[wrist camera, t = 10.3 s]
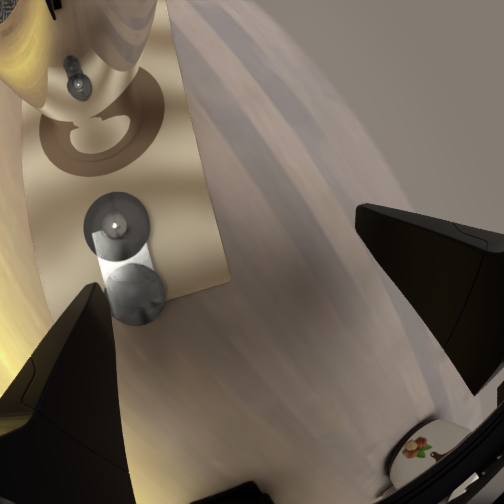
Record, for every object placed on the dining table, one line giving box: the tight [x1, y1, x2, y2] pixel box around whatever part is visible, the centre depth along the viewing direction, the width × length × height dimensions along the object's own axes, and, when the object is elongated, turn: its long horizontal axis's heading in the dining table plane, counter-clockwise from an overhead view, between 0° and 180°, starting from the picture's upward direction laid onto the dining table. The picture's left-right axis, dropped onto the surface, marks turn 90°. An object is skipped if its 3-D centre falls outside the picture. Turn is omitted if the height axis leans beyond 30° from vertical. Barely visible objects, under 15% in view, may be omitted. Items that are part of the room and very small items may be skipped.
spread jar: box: [382, 419, 479, 504], centre depth 21 cm, size 12×11×12 cm
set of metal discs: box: [83, 192, 165, 326], centre depth 15 cm, size 28×4×2 cm, turn 15°
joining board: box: [22, 0, 232, 324], centre depth 16 cm, size 26×12×1 cm, turn 15°
